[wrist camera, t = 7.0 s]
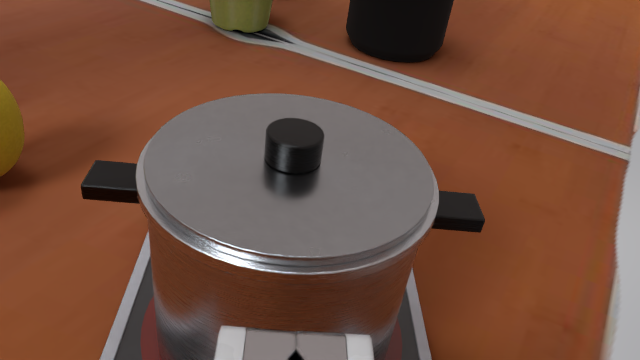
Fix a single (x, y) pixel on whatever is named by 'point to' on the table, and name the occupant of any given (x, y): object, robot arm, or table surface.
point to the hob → (141, 333)
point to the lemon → (9, 130)
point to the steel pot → (280, 219)
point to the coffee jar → (398, 27)
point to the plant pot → (241, 14)
